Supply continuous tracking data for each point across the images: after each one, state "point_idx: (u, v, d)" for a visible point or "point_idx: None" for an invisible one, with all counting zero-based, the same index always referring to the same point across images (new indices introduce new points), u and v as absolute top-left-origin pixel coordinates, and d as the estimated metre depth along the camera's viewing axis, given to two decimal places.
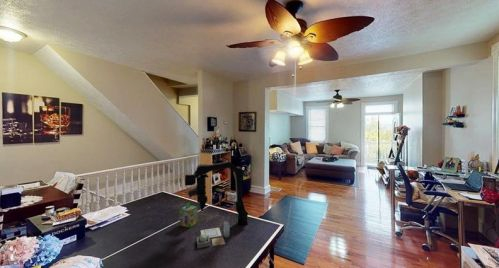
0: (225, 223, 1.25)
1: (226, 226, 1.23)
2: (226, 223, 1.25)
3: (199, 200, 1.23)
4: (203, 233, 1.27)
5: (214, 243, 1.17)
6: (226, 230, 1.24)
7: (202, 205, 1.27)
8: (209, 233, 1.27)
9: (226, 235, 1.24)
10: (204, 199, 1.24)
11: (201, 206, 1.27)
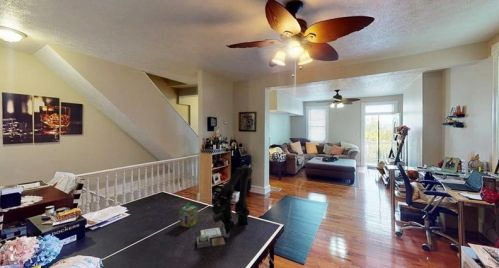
0: None
1: None
2: None
3: (226, 227, 1.16)
4: (203, 233, 1.27)
5: (214, 243, 1.17)
6: None
7: (228, 229, 1.22)
8: (209, 233, 1.27)
9: (226, 235, 1.24)
10: (231, 225, 1.17)
11: (226, 230, 1.22)
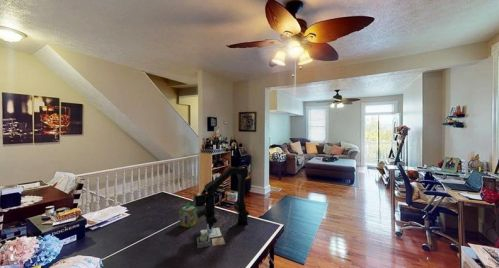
0: None
1: None
2: None
3: (208, 222, 1.19)
4: (203, 233, 1.27)
5: (214, 243, 1.17)
6: None
7: (211, 224, 1.26)
8: (209, 233, 1.27)
9: (209, 230, 1.27)
10: (213, 221, 1.20)
11: (210, 225, 1.26)
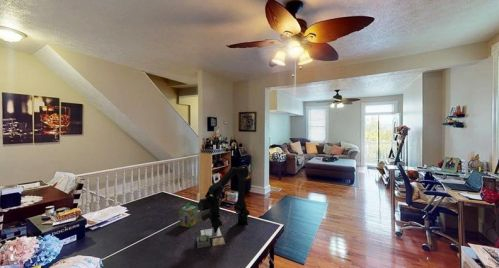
0: None
1: None
2: None
3: (213, 225, 1.15)
4: (203, 233, 1.27)
5: (214, 243, 1.17)
6: None
7: (216, 227, 1.22)
8: (209, 233, 1.27)
9: (214, 233, 1.23)
10: (219, 224, 1.16)
11: (214, 228, 1.22)
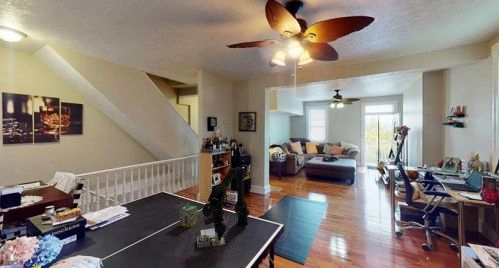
0: None
1: None
2: None
3: (217, 230, 1.09)
4: (203, 233, 1.27)
5: (214, 243, 1.17)
6: (217, 235, 1.17)
7: (220, 235, 1.13)
8: (209, 233, 1.27)
9: (217, 240, 1.17)
10: (223, 229, 1.10)
11: (219, 236, 1.13)
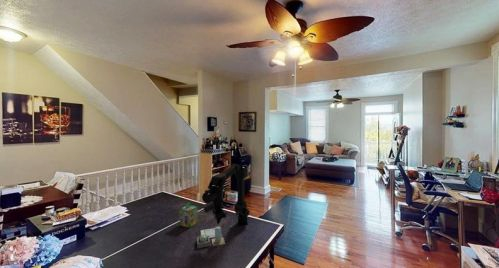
0: (216, 228, 1.18)
1: (217, 231, 1.17)
2: (217, 228, 1.18)
3: (217, 217, 1.09)
4: (203, 233, 1.27)
5: (214, 243, 1.17)
6: (217, 235, 1.17)
7: (218, 218, 1.17)
8: (209, 233, 1.27)
9: (217, 240, 1.17)
10: (223, 215, 1.10)
11: (217, 219, 1.17)
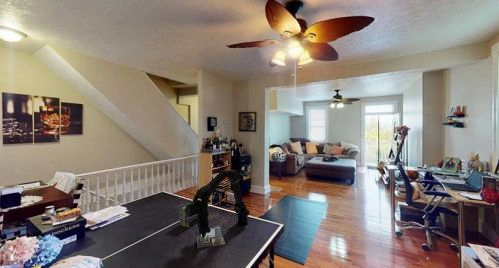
0: (216, 228, 1.18)
1: (217, 231, 1.17)
2: (217, 228, 1.18)
3: (201, 232, 1.07)
4: None
5: (214, 243, 1.17)
6: (217, 235, 1.17)
7: (204, 232, 1.16)
8: (209, 233, 1.27)
9: (217, 241, 1.17)
10: (207, 230, 1.08)
11: (202, 233, 1.16)
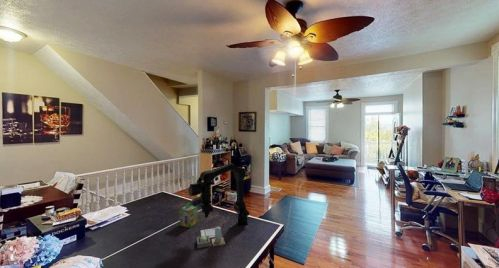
0: (216, 228, 1.18)
1: (218, 231, 1.17)
2: (218, 228, 1.18)
3: (204, 210, 1.14)
4: (203, 233, 1.27)
5: (214, 243, 1.17)
6: (218, 235, 1.17)
7: (206, 212, 1.23)
8: (209, 233, 1.27)
9: (218, 241, 1.17)
10: (210, 209, 1.15)
11: (205, 213, 1.23)
